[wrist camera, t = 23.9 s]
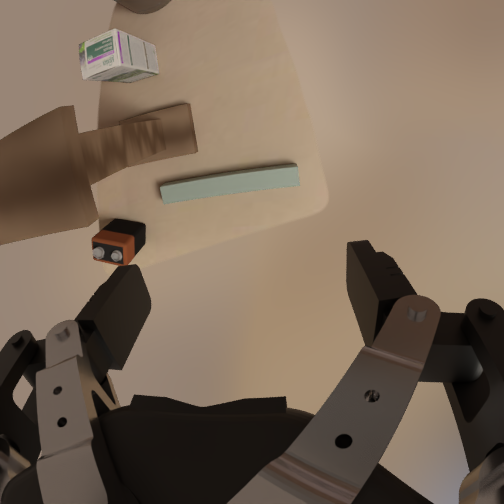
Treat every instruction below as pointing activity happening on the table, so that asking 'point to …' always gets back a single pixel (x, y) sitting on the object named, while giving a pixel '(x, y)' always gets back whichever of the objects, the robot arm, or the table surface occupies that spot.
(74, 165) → the stand
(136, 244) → the battery
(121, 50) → the syrup box
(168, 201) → the peg
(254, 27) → the table surface
